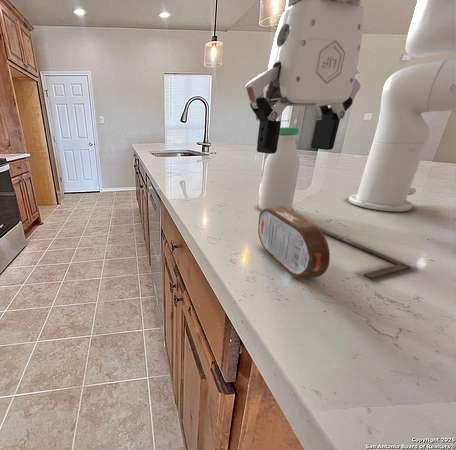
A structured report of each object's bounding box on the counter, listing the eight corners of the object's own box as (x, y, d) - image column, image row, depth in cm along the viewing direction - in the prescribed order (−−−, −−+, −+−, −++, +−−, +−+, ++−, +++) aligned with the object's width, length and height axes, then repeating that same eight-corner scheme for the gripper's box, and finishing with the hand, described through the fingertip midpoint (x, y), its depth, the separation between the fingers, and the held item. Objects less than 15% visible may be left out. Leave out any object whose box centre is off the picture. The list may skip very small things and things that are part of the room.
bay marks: (299, 220, 56) (299, 219, 56) (410, 267, 37) (411, 266, 37) (268, 226, 54) (268, 225, 54) (370, 279, 35) (370, 277, 35)
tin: (324, 289, 34) (339, 233, 30) (302, 291, 33) (315, 235, 30) (268, 240, 47) (274, 199, 44) (252, 242, 47) (257, 200, 44)
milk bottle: (295, 215, 59) (312, 127, 52) (261, 213, 61) (273, 128, 53) (286, 205, 66) (300, 126, 59) (256, 204, 68) (266, 127, 60)
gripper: (286, -33, 22) (260, 157, 29) (414, -11, 27) (366, 149, 33) (238, 3, 29) (226, 151, 36) (347, 16, 34) (318, 146, 40)
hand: (294, 150), depth 35 cm, fingers open, 9 cm apart
